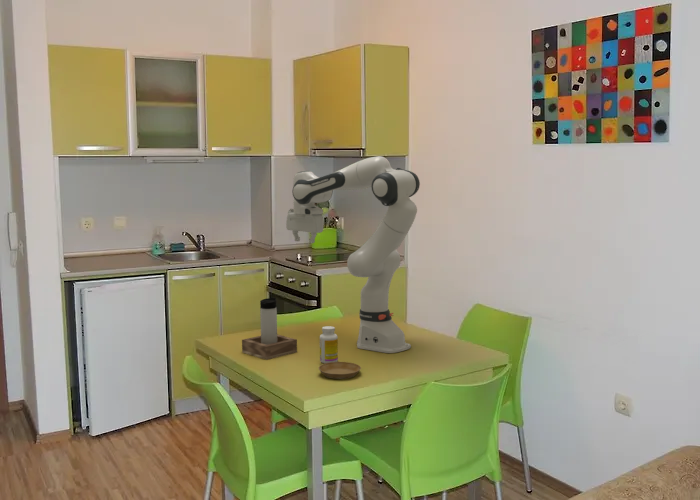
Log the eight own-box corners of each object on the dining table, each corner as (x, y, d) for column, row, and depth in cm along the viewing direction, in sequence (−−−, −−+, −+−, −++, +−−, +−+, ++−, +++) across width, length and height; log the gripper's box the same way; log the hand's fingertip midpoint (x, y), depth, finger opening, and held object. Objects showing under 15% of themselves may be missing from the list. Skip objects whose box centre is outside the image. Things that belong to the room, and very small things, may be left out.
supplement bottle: (341, 361, 265) (341, 327, 264) (329, 365, 260) (328, 330, 259) (328, 358, 270) (328, 324, 268) (316, 361, 265) (315, 327, 263)
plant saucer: (357, 367, 258) (357, 360, 258) (364, 380, 243) (364, 372, 243) (316, 369, 256) (316, 362, 256) (320, 382, 241) (320, 374, 241)
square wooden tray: (297, 352, 278) (296, 339, 278) (266, 359, 268) (266, 346, 267) (272, 345, 289) (272, 333, 288) (242, 352, 278) (241, 339, 278)
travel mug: (281, 348, 279) (280, 298, 277) (270, 352, 274) (269, 301, 271) (269, 346, 283) (267, 296, 280) (257, 350, 277) (256, 299, 275)
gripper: (282, 208, 310) (283, 240, 312) (314, 211, 295) (315, 244, 297) (293, 208, 314) (294, 239, 316) (325, 210, 300) (326, 243, 302)
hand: (304, 242), depth 306 cm, fingers open, 8 cm apart
